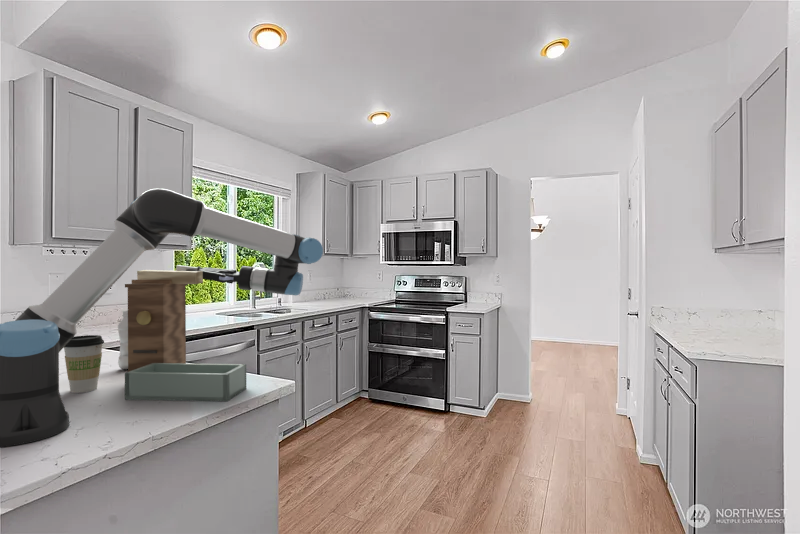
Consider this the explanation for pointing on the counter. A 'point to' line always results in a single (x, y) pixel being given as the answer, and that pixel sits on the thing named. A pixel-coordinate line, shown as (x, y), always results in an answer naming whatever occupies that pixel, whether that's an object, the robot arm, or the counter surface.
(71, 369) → the coffee cup
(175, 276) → the bar
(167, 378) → the tray
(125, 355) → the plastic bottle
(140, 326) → the brown wooden box
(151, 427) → the counter surface
